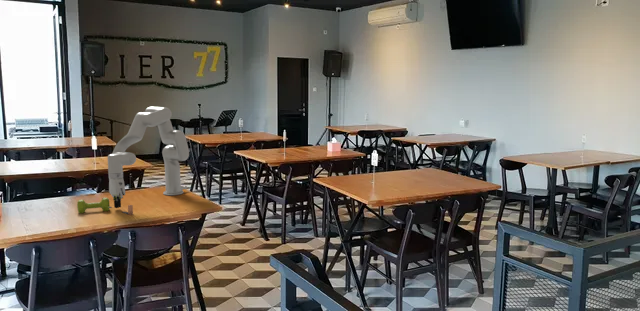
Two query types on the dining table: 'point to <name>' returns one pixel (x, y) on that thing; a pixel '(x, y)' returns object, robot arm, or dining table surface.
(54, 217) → the dining table surface
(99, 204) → the dumbbell
